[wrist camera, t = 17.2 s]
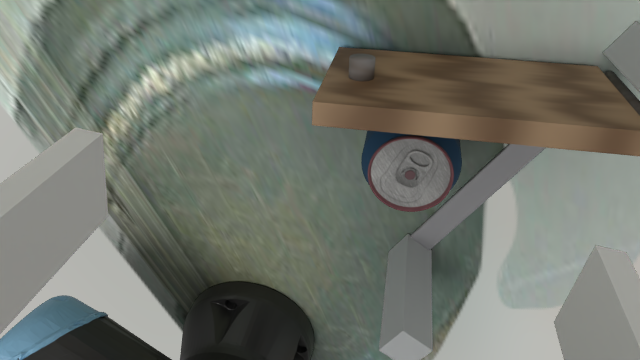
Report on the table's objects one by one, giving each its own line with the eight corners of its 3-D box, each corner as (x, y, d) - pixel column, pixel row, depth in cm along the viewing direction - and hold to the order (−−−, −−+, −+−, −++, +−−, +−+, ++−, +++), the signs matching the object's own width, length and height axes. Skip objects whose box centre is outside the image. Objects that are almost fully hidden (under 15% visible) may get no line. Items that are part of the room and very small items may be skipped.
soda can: (428, 156, 48) (429, 234, 38) (360, 122, 48) (341, 192, 38) (471, 92, 45) (484, 159, 35) (397, 54, 44) (388, 111, 34)
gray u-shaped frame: (411, 267, 55) (407, 379, 43) (388, 251, 54) (377, 359, 42) (664, 46, 40) (762, 120, 29) (635, 21, 40) (724, 87, 28)
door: (338, 66, 45) (312, 125, 34) (340, 29, 43) (312, 80, 33) (612, 87, 42) (671, 159, 32) (624, 49, 40) (690, 112, 30)
